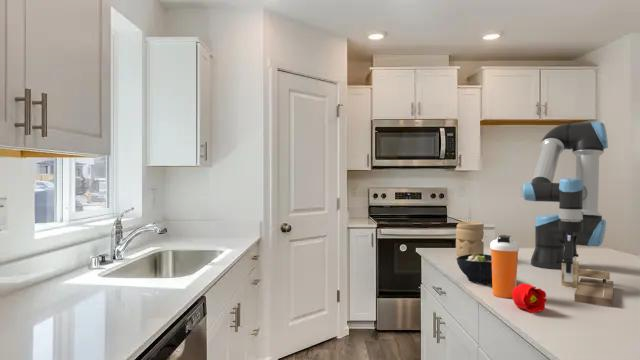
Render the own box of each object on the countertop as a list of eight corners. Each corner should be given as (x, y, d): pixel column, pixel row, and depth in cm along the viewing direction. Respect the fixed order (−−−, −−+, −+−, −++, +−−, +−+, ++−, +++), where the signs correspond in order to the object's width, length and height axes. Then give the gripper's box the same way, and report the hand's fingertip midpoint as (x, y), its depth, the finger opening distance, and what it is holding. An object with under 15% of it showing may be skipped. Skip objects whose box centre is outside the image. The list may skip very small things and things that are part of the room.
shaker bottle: (517, 293, 145) (517, 235, 145) (520, 300, 137) (520, 238, 137) (489, 290, 148) (489, 233, 148) (490, 297, 140) (491, 237, 140)
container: (457, 262, 198) (458, 224, 198) (453, 257, 210) (454, 221, 210) (486, 263, 196) (486, 224, 196) (480, 258, 208) (480, 221, 208)
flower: (532, 287, 133) (551, 293, 125) (523, 310, 132) (542, 318, 124) (512, 278, 131) (530, 283, 124) (503, 301, 131) (521, 308, 123)
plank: (574, 301, 136) (574, 293, 136) (580, 283, 159) (580, 277, 159) (612, 307, 130) (612, 299, 130) (613, 288, 153) (613, 281, 153)
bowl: (504, 278, 167) (504, 253, 167) (503, 288, 151) (503, 260, 151) (459, 274, 174) (459, 249, 174) (454, 283, 158) (454, 256, 158)
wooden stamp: (561, 286, 155) (561, 261, 155) (562, 283, 159) (563, 259, 159) (609, 292, 147) (609, 267, 146) (609, 289, 151) (609, 264, 151)
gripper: (580, 224, 143) (579, 286, 144) (585, 217, 163) (584, 272, 164) (555, 223, 147) (554, 283, 148) (562, 216, 168) (562, 269, 168)
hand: (570, 277), depth 156 cm, fingers open, 13 cm apart
